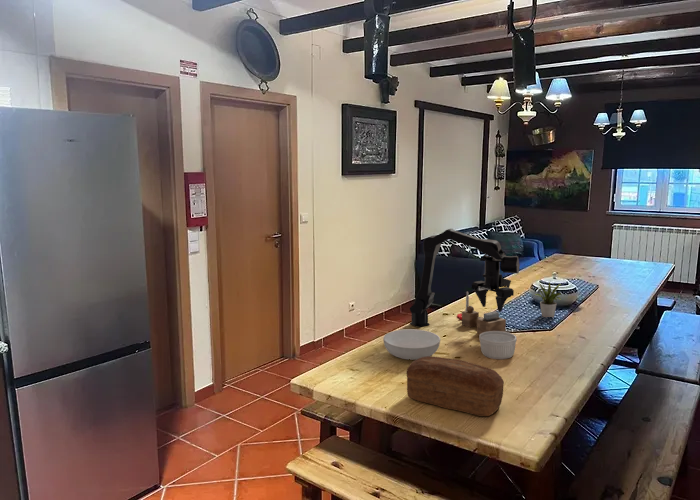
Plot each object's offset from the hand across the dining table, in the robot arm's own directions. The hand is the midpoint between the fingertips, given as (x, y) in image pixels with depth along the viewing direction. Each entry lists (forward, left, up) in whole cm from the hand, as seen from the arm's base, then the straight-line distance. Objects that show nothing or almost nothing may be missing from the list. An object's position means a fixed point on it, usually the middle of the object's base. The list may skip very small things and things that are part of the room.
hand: (491, 309), depth 216 cm
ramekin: (-15, -19, -11) cm, 26 cm away
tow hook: (+6, +23, -11) cm, 26 cm away
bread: (-53, -41, -11) cm, 68 cm away
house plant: (+36, +5, -10) cm, 38 cm away
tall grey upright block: (0, 0, -8) cm, 8 cm away
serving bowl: (-42, -3, -11) cm, 43 cm away
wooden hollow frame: (0, +6, -10) cm, 12 cm away
